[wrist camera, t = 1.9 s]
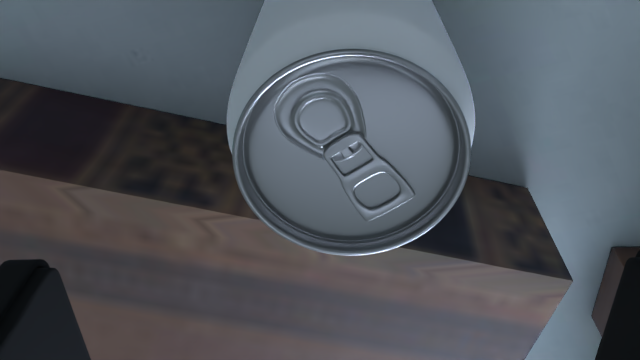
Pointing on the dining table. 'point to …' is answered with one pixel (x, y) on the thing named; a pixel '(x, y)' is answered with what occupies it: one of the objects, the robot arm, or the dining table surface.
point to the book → (249, 250)
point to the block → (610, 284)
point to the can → (350, 122)
